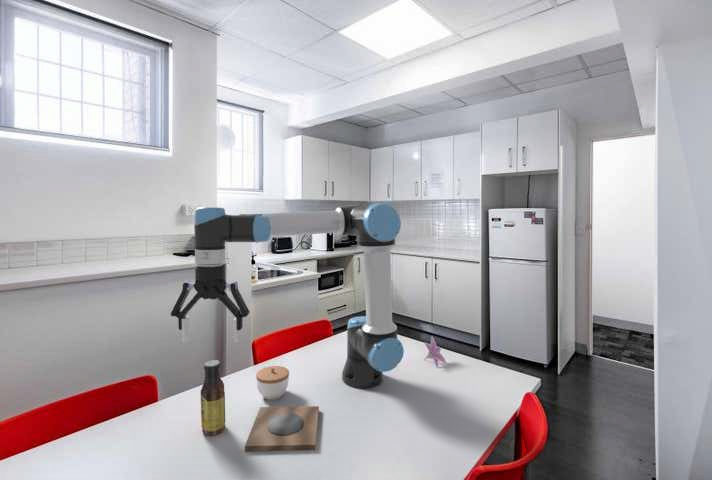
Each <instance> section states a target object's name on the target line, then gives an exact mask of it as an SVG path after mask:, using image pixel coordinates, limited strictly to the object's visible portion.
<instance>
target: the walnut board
mask: <svg viewBox="0 0 712 480" xmlns="http://www.w3.org/2000/svg"><path fill="white" fill-rule="evenodd" d="M319 415H320V406H317V405H316V406H312V405H311V406H309V405H308V406H260V407H259V409H258V413H257V414H256V416H255V419H254V421H253V424H252V426H251V429H250V432H249V434H248V437H247V439H246V442H245V445H244V452H288V451H290V452H292V451H293V452H294V451H297V452H298V451H316V447H317V436H318V435H317V434H318V426H319V424H318V423H319Z"/></svg>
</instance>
